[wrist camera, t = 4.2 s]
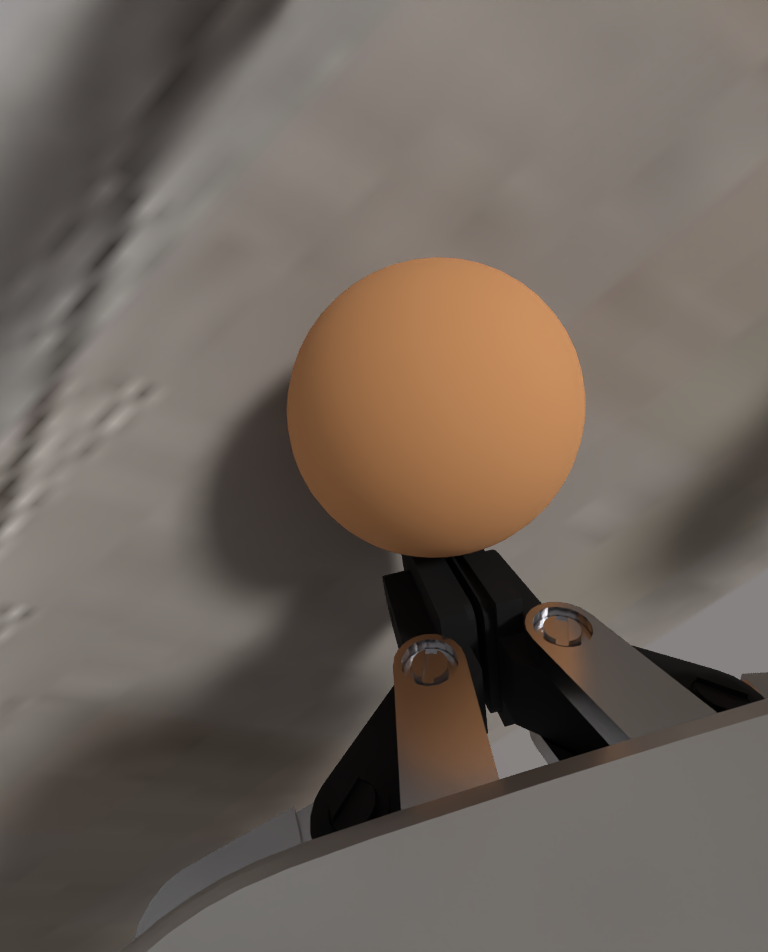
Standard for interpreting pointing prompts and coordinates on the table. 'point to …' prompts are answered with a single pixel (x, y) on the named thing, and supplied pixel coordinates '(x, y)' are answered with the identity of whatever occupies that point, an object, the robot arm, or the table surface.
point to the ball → (436, 407)
